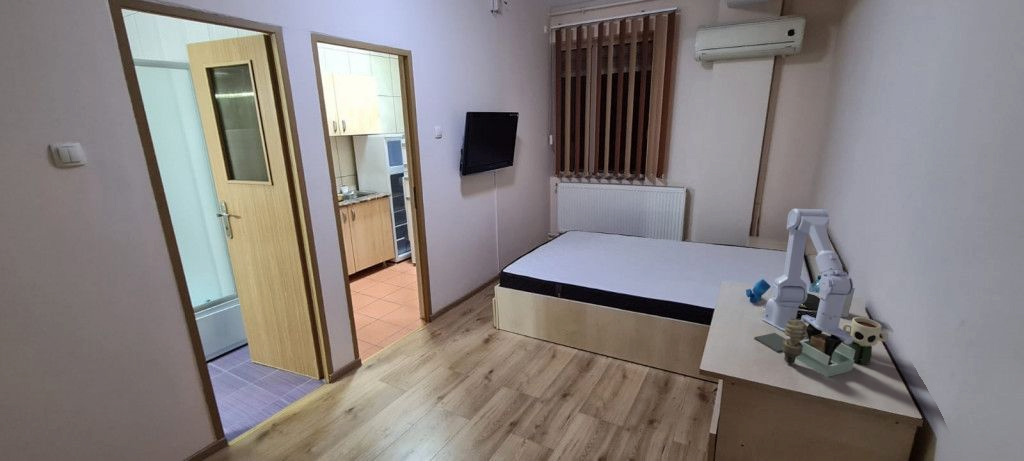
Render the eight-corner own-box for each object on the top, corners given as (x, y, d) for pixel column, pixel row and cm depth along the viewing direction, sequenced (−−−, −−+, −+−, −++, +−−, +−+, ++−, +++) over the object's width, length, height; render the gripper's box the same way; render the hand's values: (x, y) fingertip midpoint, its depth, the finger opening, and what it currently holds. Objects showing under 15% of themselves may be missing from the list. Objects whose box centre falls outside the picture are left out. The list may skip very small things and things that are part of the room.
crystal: (742, 286, 172) (753, 272, 179) (741, 304, 176) (752, 290, 183) (763, 292, 167) (773, 277, 174) (761, 310, 170) (771, 295, 177)
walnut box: (806, 358, 135) (811, 336, 133) (818, 355, 136) (823, 333, 134) (818, 365, 131) (824, 342, 129) (830, 362, 133) (836, 339, 130)
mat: (754, 338, 147) (754, 337, 147) (774, 334, 150) (774, 332, 150) (777, 352, 139) (777, 350, 139) (798, 347, 142) (798, 345, 141)
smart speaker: (788, 300, 176) (790, 291, 175) (811, 301, 175) (813, 292, 174) (800, 310, 167) (802, 301, 166) (824, 311, 166) (826, 301, 165)
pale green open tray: (785, 353, 138) (789, 335, 136) (811, 347, 141) (815, 329, 140) (826, 377, 126) (830, 357, 124) (852, 370, 129) (857, 351, 128)
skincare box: (848, 317, 161) (855, 288, 158) (835, 316, 162) (842, 287, 159) (840, 310, 167) (846, 281, 163) (827, 309, 168) (834, 280, 164)
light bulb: (799, 371, 129) (808, 326, 125) (778, 365, 132) (786, 321, 128) (798, 361, 134) (808, 318, 129) (778, 356, 136) (786, 314, 132)
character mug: (836, 359, 135) (845, 322, 131) (835, 349, 140) (843, 313, 137) (881, 370, 129) (892, 332, 125) (878, 359, 135) (888, 322, 131)
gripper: (864, 321, 124) (853, 362, 127) (815, 300, 137) (807, 338, 141) (846, 325, 122) (836, 367, 125) (799, 303, 135) (791, 342, 139)
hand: (820, 352), depth 133 cm, fingers closed on walnut box, 4 cm apart
